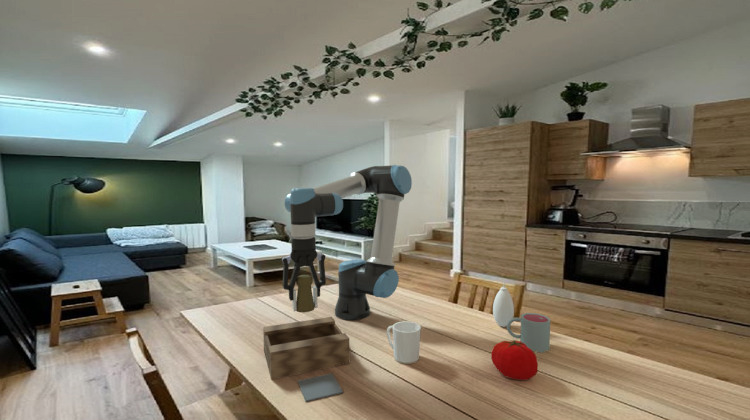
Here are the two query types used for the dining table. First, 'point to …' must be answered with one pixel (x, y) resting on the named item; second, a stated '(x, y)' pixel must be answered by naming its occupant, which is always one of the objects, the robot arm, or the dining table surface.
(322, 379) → the grey pad
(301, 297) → the cork
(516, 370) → the tomato
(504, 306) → the sauce bottle
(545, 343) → the mug
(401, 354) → the mug
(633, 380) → the dining table surface
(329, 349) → the walnut box
